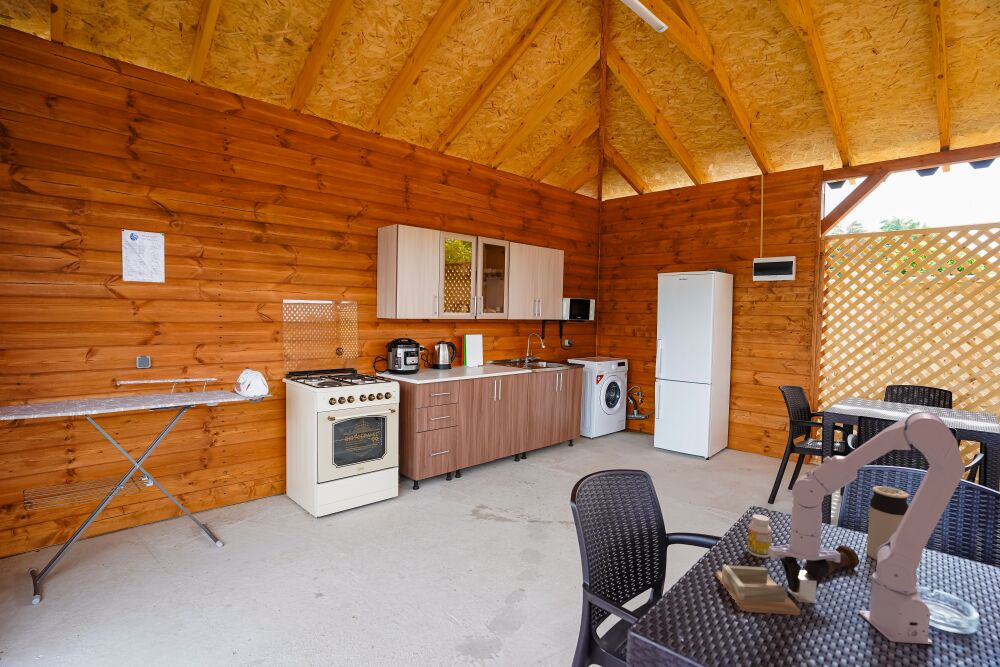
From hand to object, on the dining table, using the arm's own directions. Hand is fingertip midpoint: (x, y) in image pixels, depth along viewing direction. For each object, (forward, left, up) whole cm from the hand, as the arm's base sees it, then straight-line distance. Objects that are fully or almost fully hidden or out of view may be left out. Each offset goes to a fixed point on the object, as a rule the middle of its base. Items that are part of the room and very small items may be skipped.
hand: (801, 590), depth 111 cm
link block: (0, 0, -1) cm, 1 cm away
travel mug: (+21, -33, -2) cm, 39 cm away
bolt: (+13, -13, -2) cm, 18 cm away
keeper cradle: (0, +10, -1) cm, 10 cm away
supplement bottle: (+20, 0, -2) cm, 20 cm away
